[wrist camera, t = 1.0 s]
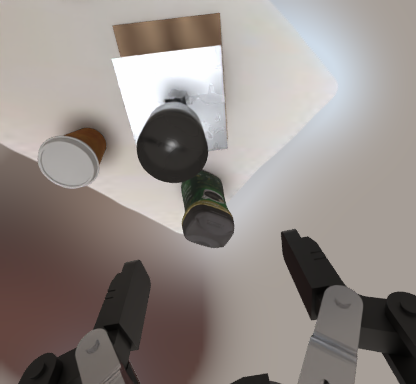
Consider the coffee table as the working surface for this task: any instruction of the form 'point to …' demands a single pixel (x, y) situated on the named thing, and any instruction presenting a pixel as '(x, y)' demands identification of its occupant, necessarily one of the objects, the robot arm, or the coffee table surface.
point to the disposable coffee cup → (72, 158)
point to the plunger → (173, 142)
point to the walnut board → (169, 35)
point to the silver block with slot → (176, 87)
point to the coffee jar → (206, 211)
